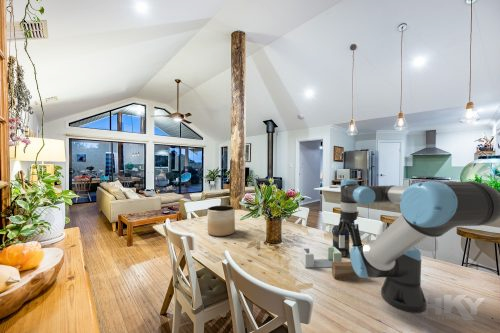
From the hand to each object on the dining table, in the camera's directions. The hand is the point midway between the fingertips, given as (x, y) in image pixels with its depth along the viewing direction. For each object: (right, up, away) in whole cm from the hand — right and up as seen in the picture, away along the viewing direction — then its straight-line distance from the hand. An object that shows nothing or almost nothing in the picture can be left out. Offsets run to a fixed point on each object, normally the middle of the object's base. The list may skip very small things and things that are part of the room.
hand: (348, 253), depth 108 cm
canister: (+8, -12, +27) cm, 30 cm away
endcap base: (-9, -12, +14) cm, 20 cm away
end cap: (-1, -11, +14) cm, 18 cm away
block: (-1, -12, 0) cm, 12 cm away
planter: (-72, -11, +69) cm, 100 cm away
